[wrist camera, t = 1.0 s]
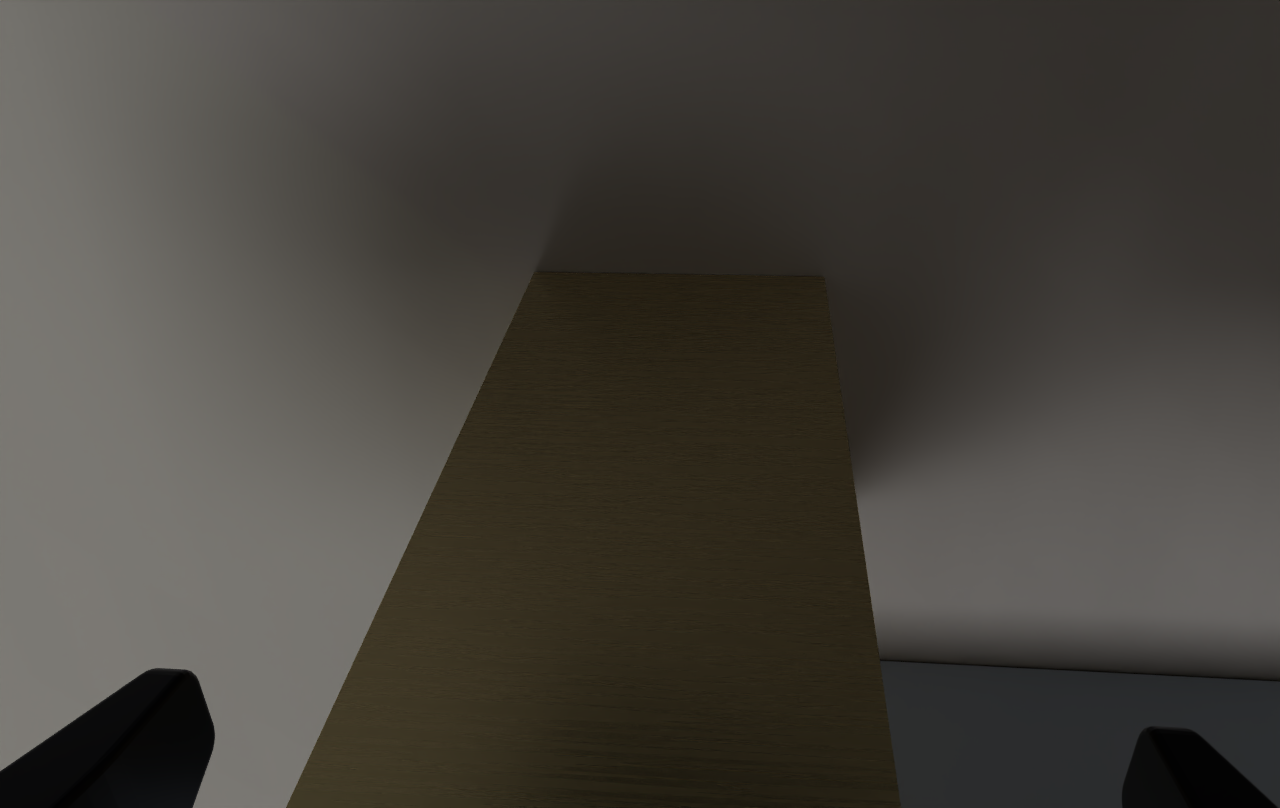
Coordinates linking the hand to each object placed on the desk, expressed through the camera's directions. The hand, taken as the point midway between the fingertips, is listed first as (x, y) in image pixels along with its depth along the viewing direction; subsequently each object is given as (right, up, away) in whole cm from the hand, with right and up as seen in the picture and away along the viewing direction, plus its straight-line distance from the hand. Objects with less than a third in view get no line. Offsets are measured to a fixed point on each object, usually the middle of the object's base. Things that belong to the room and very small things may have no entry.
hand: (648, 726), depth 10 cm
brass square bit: (+1, +3, +5) cm, 6 cm away
